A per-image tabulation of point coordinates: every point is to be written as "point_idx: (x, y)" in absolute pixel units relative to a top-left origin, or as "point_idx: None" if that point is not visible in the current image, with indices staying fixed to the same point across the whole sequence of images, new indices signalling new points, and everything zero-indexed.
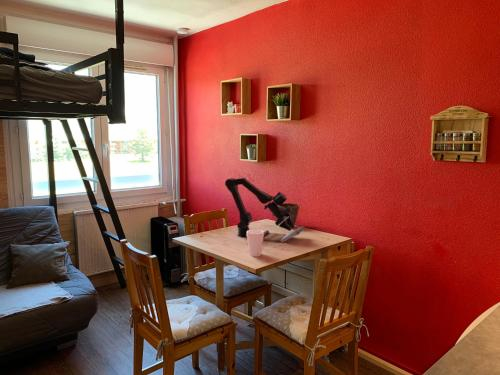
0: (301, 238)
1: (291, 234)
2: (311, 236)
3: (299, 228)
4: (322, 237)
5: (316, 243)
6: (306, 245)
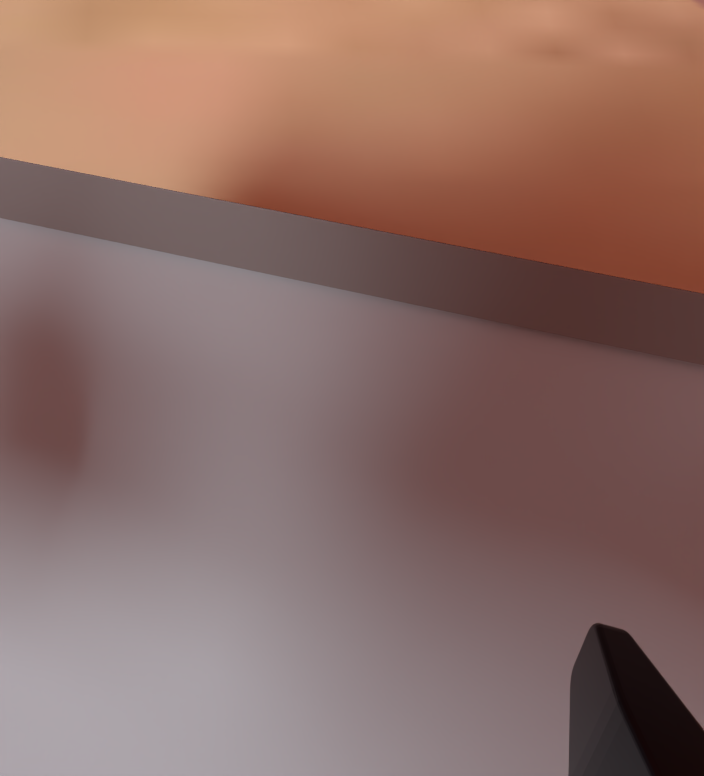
0: None
1: (662, 605)
2: None
3: (100, 282)
4: (97, 10)
5: (510, 106)
6: (699, 277)
